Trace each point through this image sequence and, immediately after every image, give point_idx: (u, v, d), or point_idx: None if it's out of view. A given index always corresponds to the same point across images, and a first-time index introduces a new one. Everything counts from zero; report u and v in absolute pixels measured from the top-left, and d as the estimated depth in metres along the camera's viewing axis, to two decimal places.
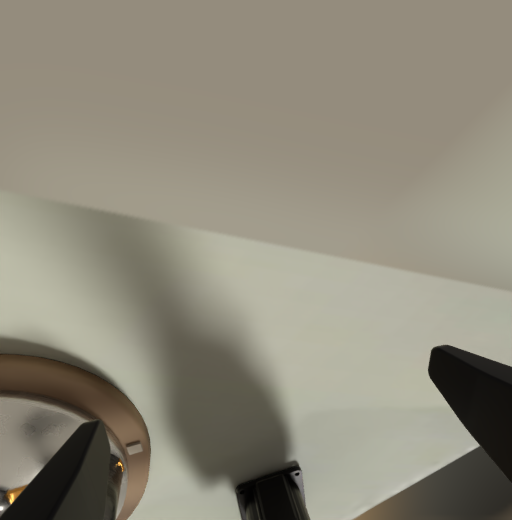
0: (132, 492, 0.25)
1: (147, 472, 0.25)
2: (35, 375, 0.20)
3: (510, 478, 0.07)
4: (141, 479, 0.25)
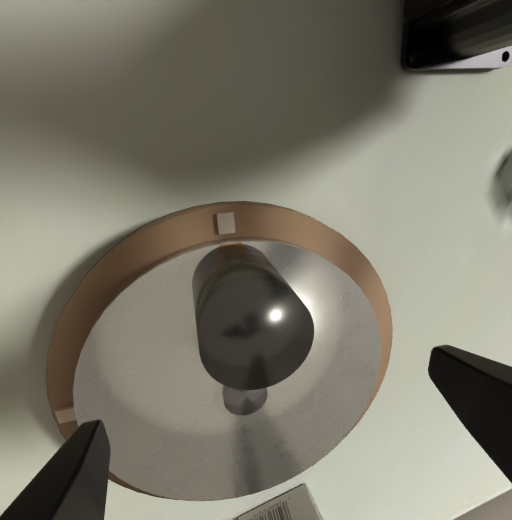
0: (315, 239, 0.17)
1: (284, 212, 0.16)
2: (61, 324, 0.15)
3: (510, 478, 0.07)
4: (294, 223, 0.16)
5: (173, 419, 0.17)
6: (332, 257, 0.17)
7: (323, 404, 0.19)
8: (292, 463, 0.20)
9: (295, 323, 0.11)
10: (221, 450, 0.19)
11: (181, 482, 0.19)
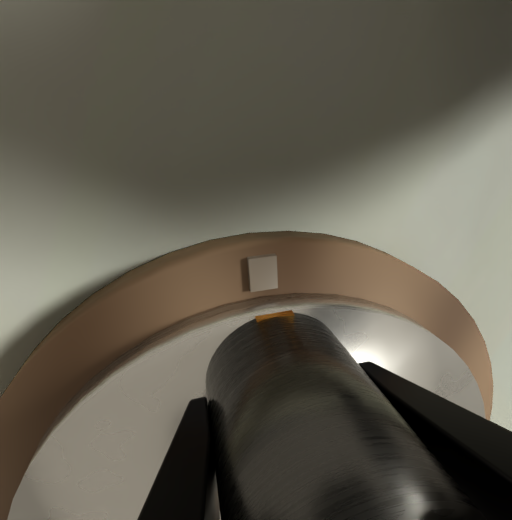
0: (399, 291, 0.10)
1: (356, 252, 0.10)
2: None
3: None
4: (371, 268, 0.10)
5: None
6: (422, 317, 0.11)
7: None
8: None
9: None
10: None
11: None
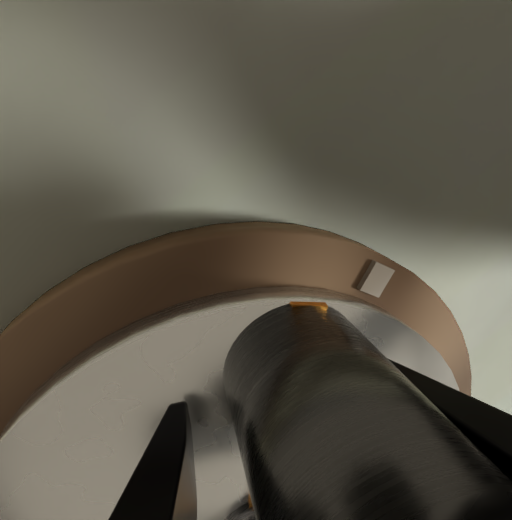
0: (443, 348, 0.12)
1: (437, 299, 0.11)
2: (45, 314, 0.08)
3: None
4: (438, 318, 0.11)
5: None
6: None
7: None
8: None
9: None
10: None
11: None
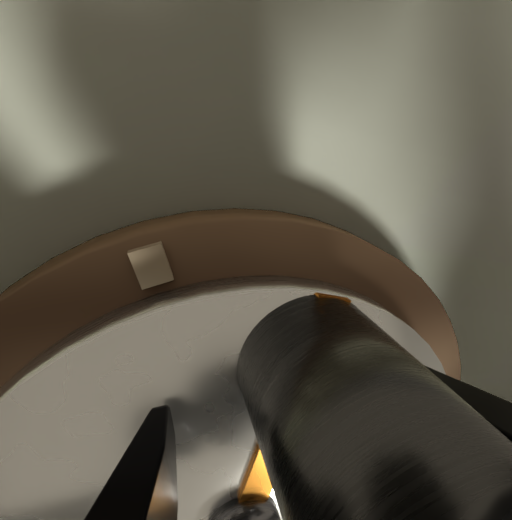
0: None
1: None
2: (343, 241, 0.09)
3: None
4: None
5: None
6: None
7: None
8: None
9: None
10: None
11: None
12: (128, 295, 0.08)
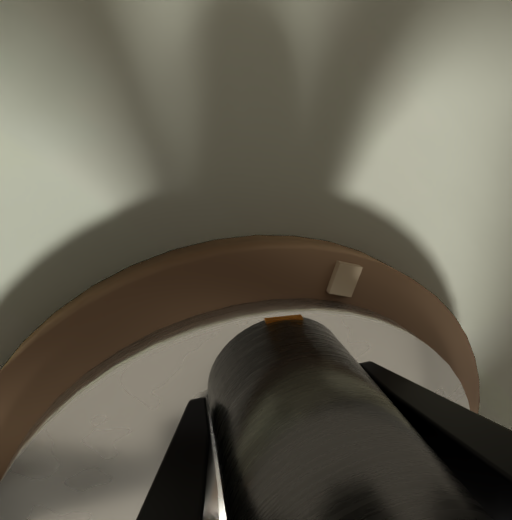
0: None
1: None
2: (453, 325, 0.12)
3: None
4: None
5: None
6: None
7: None
8: None
9: None
10: None
11: None
12: (313, 292, 0.10)
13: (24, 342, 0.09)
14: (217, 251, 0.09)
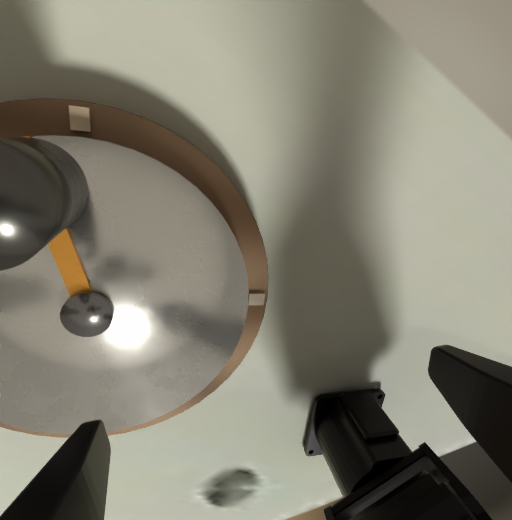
0: None
1: (253, 338, 0.21)
2: (196, 153, 0.16)
3: (510, 478, 0.07)
4: (243, 345, 0.21)
5: (14, 346, 0.16)
6: None
7: (191, 325, 0.18)
8: (173, 391, 0.20)
9: (15, 186, 0.09)
10: (84, 379, 0.18)
11: (47, 414, 0.18)
12: (62, 131, 0.14)
13: None
14: None
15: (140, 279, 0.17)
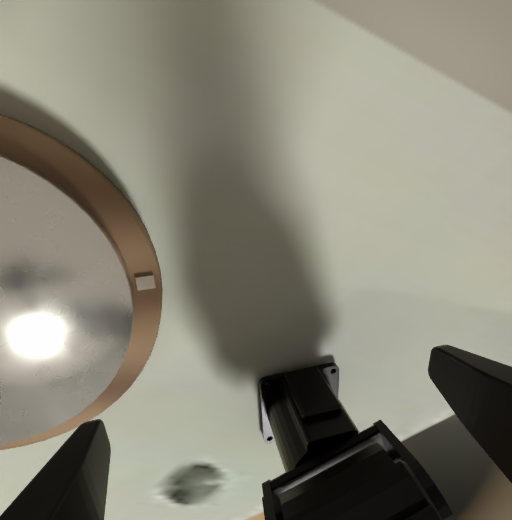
0: (135, 352, 0.20)
1: (157, 325, 0.19)
2: (23, 132, 0.15)
3: (510, 478, 0.07)
4: (148, 334, 0.20)
5: None
6: None
7: (70, 320, 0.17)
8: (74, 392, 0.18)
9: None
10: None
11: None
12: None
13: None
14: None
15: None
